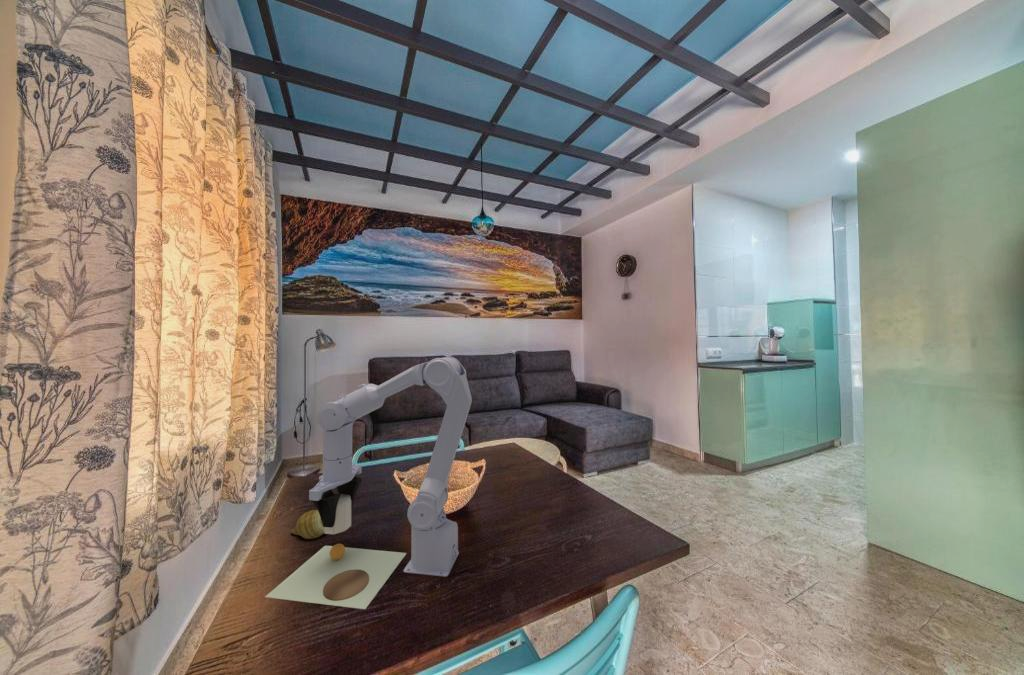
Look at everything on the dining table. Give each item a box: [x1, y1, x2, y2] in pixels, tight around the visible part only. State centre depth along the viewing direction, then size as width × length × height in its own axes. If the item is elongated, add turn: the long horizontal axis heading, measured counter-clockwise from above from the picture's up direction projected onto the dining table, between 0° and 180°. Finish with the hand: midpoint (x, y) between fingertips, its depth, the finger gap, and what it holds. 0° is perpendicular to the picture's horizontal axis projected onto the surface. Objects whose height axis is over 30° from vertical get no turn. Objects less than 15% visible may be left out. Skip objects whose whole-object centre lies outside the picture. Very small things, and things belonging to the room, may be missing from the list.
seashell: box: [290, 509, 325, 540], centre depth 84 cm, size 10×7×8 cm
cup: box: [323, 494, 352, 535], centre depth 73 cm, size 5×5×6 cm
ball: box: [330, 543, 346, 560], centre depth 73 cm, size 3×3×3 cm
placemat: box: [264, 545, 407, 610], centre depth 69 cm, size 20×16×1 cm
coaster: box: [323, 569, 369, 601], centre depth 65 cm, size 8×8×1 cm
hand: (337, 519), depth 73 cm, fingers closed on cup, 5 cm apart
